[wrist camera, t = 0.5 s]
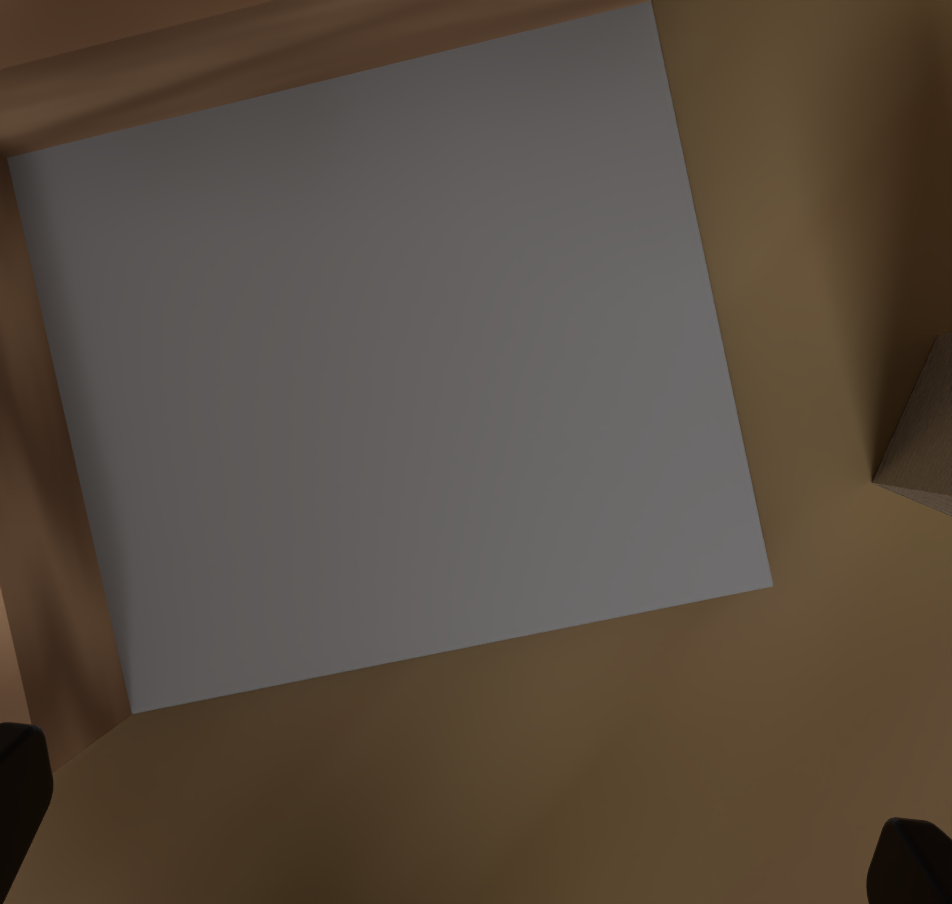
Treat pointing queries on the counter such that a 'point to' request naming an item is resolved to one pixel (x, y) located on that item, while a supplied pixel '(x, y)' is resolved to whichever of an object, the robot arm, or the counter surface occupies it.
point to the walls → (16, 300)
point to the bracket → (924, 436)
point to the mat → (393, 363)
